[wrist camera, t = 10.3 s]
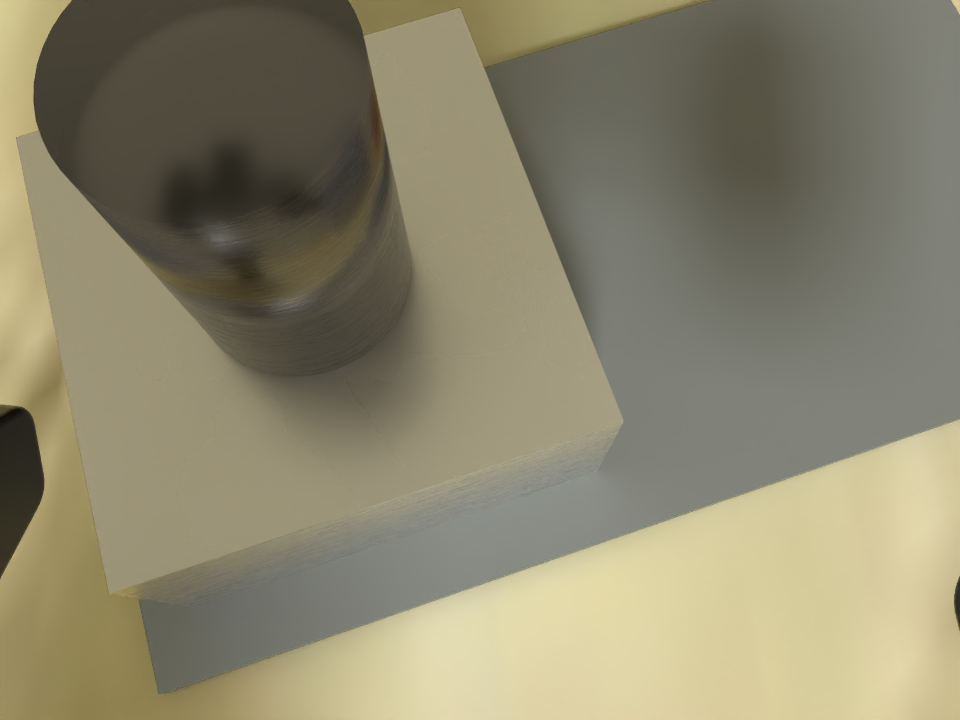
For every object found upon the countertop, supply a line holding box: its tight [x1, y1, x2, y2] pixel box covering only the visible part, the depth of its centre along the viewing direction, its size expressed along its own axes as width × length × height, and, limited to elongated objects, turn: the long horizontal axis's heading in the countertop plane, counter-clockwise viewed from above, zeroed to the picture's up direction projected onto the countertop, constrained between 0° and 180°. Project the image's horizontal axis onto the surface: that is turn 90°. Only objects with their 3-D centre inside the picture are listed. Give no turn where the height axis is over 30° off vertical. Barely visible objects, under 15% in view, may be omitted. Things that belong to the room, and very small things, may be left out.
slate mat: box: [139, 0, 960, 694], centre depth 22 cm, size 23×12×1 cm, turn 109°
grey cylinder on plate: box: [16, 0, 624, 608], centre depth 16 cm, size 9×9×10 cm
